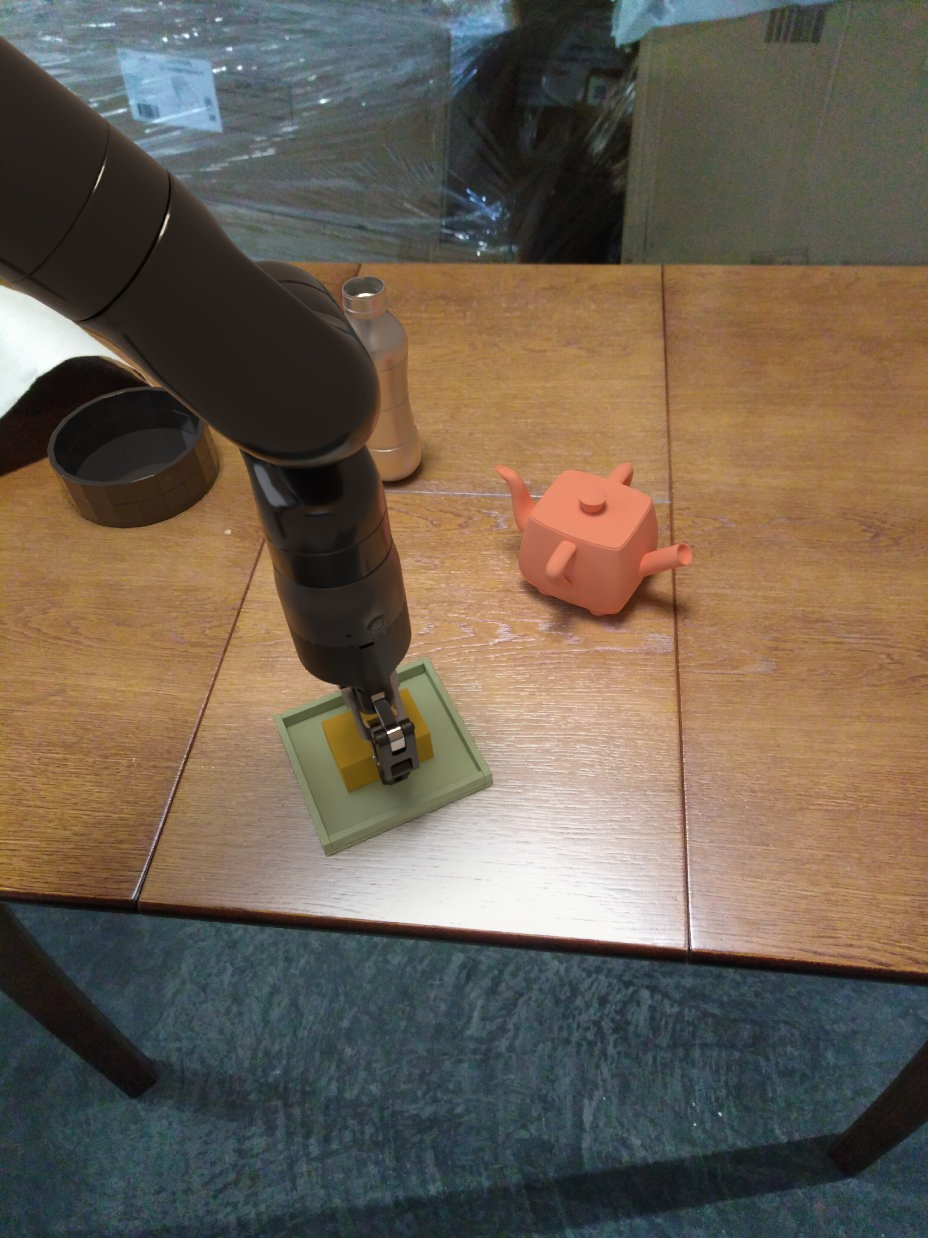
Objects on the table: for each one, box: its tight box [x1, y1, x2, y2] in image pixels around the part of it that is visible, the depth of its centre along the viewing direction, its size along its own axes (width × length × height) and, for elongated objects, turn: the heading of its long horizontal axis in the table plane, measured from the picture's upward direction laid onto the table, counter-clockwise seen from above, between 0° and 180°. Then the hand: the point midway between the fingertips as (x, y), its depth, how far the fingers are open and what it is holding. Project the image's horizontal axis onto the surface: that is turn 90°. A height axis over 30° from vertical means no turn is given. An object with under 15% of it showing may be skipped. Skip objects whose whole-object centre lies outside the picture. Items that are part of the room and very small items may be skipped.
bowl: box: [46, 385, 220, 528], centre depth 90 cm, size 15×15×6 cm
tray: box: [273, 655, 493, 857], centre depth 69 cm, size 13×12×2 cm
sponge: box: [321, 688, 434, 793], centre depth 67 cm, size 7×4×4 cm, turn 115°
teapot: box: [494, 462, 693, 617], centre depth 76 cm, size 14×12×10 cm
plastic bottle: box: [341, 275, 423, 482], centre depth 83 cm, size 6×7×20 cm
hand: (378, 740), depth 67 cm, fingers open, 6 cm apart
